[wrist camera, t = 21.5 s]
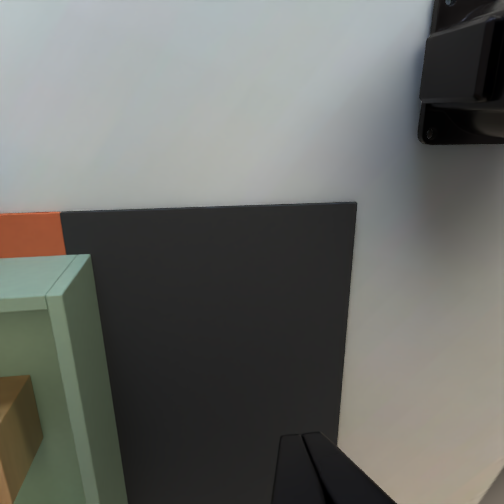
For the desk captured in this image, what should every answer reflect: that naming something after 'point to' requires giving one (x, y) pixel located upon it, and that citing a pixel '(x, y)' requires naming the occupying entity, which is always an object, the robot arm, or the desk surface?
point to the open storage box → (62, 378)
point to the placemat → (211, 334)
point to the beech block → (17, 434)
